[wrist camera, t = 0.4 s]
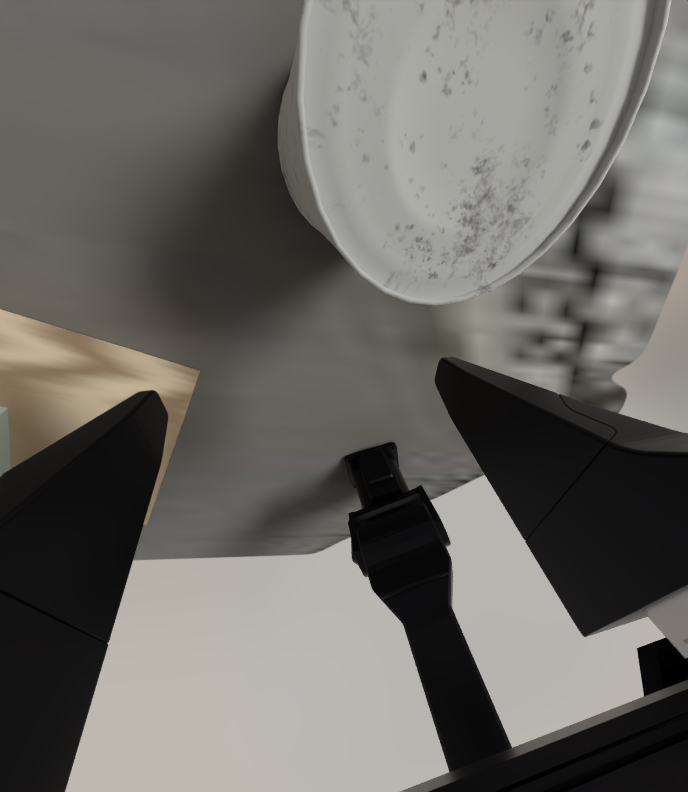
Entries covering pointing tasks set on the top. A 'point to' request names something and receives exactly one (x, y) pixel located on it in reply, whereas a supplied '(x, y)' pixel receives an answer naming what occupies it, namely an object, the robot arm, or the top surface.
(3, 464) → the green notched block
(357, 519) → the robot arm
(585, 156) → the grey round cylinder
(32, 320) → the beige ridged block
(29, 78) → the top surface
